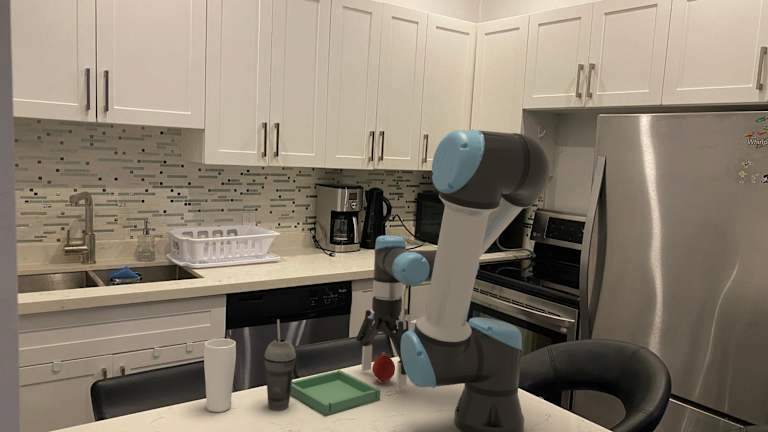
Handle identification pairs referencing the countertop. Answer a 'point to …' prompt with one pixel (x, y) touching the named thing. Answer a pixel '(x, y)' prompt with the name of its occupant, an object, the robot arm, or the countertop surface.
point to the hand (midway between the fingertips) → (383, 377)
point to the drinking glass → (219, 373)
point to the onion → (383, 368)
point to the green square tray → (333, 392)
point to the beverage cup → (279, 372)
